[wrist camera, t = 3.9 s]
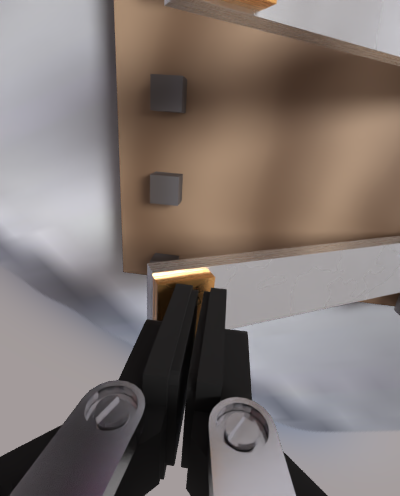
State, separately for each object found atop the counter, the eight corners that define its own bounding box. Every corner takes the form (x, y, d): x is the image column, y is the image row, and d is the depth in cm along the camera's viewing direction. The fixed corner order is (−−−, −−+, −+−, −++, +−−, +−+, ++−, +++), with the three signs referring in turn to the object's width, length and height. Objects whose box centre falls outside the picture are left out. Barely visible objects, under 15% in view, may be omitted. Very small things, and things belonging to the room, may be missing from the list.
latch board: (562, -55, 13) (669, -116, 10) (419, 294, 20) (453, 327, 17) (126, -61, 15) (94, -113, 12) (133, 259, 22) (113, 283, 19)
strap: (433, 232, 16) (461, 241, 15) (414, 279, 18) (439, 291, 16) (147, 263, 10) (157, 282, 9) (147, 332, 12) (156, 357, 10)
